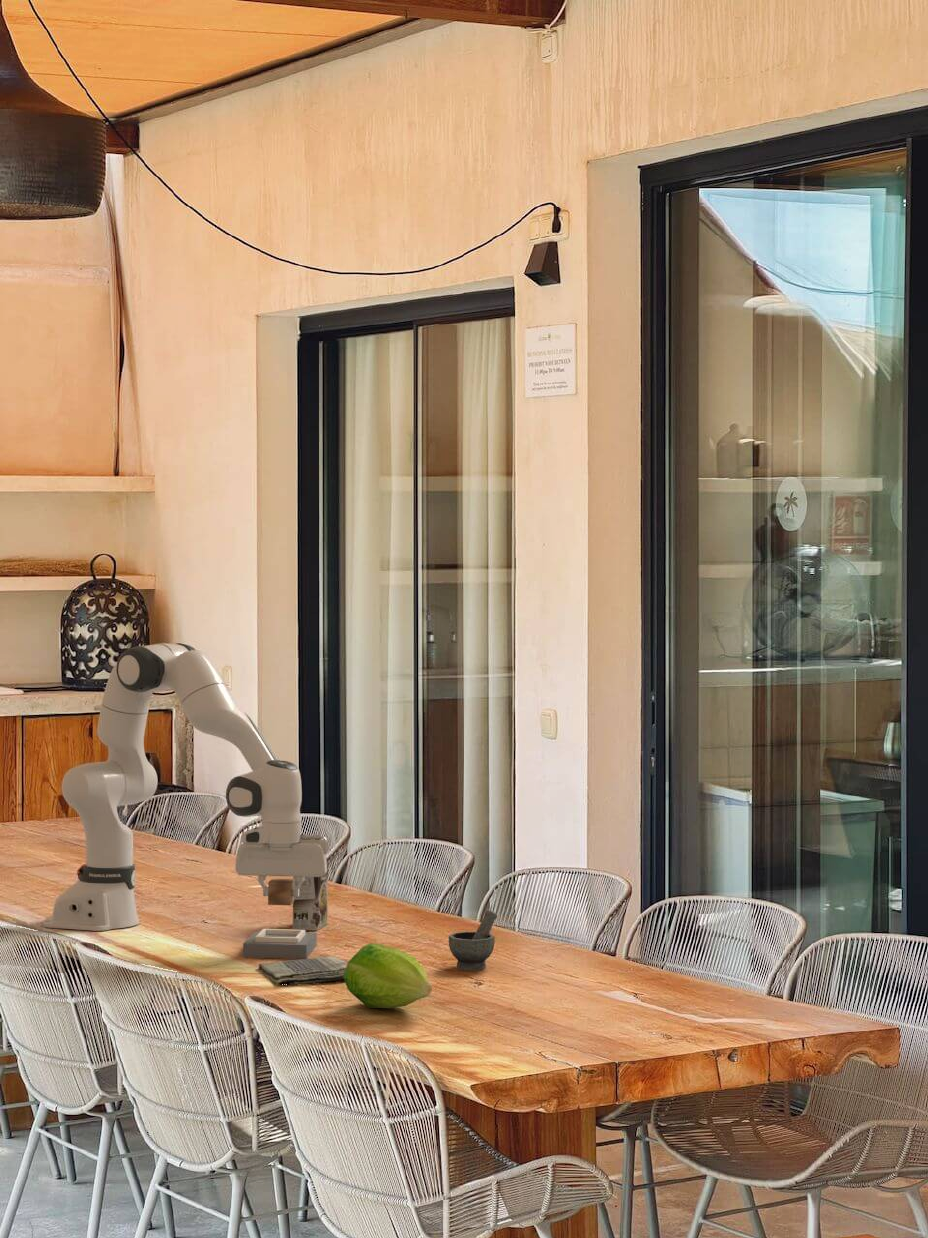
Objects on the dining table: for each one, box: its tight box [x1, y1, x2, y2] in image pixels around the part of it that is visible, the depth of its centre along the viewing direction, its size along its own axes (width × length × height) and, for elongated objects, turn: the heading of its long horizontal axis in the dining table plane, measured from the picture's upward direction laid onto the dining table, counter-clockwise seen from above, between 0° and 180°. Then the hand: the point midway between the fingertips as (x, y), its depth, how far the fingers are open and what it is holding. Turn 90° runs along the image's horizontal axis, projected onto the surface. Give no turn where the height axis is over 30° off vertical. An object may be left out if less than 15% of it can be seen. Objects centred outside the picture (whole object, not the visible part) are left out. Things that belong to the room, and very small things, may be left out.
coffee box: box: [291, 857, 329, 932], centre depth 430 cm, size 9×6×16 cm
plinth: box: [242, 928, 318, 960], centre depth 401 cm, size 14×14×4 cm
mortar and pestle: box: [448, 909, 498, 972], centre depth 387 cm, size 11×9×12 cm
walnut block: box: [267, 878, 294, 906], centre depth 401 cm, size 5×5×5 cm
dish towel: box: [258, 956, 348, 987], centre depth 378 cm, size 19×18×3 cm
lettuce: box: [344, 942, 433, 1009], centre depth 347 cm, size 14×20×12 cm
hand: (281, 896), depth 401 cm, fingers closed on walnut block, 5 cm apart
